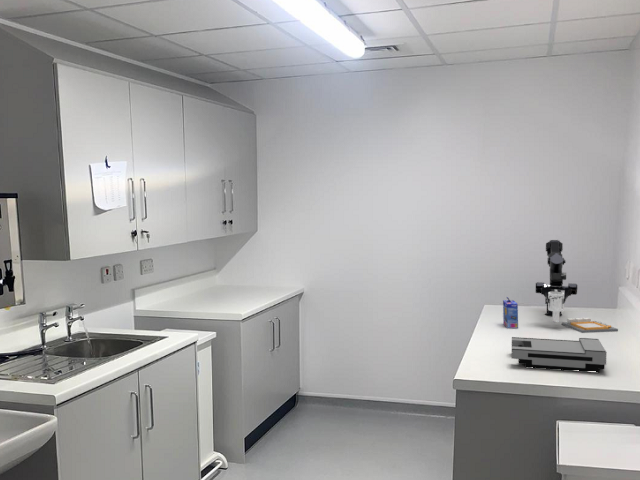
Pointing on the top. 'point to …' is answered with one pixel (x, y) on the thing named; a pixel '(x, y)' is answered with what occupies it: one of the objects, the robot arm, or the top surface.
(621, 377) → the top surface
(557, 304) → the white piece
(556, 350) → the game console
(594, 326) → the panel
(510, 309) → the ink cartridge box
